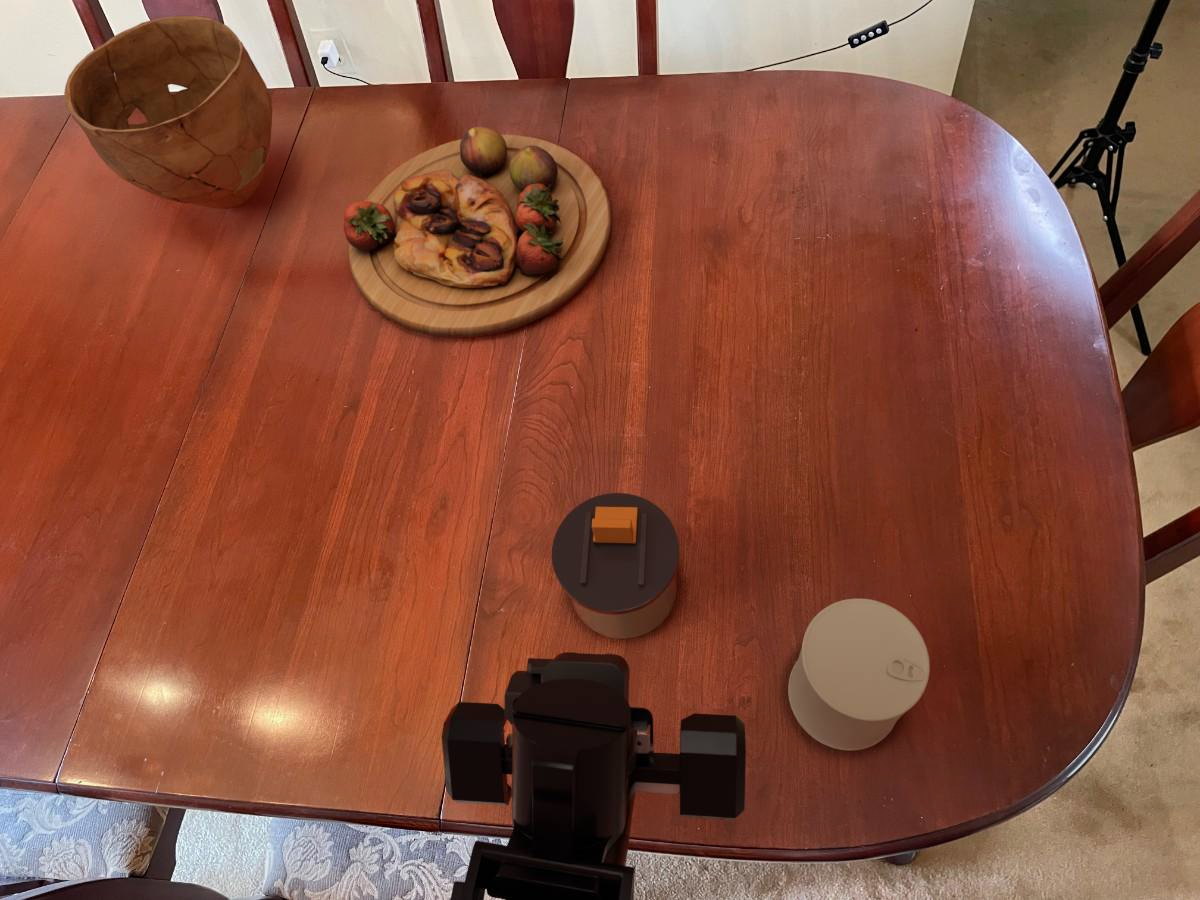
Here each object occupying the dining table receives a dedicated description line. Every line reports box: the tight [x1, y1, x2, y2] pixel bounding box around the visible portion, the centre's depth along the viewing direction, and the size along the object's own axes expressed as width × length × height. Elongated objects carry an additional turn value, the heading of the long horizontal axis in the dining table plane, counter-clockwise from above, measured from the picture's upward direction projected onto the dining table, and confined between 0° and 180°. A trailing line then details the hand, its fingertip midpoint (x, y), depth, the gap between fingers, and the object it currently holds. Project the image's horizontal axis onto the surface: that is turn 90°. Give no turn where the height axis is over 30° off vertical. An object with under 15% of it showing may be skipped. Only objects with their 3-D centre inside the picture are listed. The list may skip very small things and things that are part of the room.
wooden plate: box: [343, 125, 613, 339], centre depth 99 cm, size 32×32×8 cm
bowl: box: [63, 15, 273, 210], centre depth 102 cm, size 21×20×20 cm
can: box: [787, 597, 931, 752], centre depth 67 cm, size 9×9×12 cm
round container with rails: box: [551, 492, 680, 640], centre depth 75 cm, size 11×11×9 cm
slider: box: [592, 507, 638, 543], centre depth 71 cm, size 3×4×3 cm
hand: (609, 688), depth 61 cm, fingers closed
